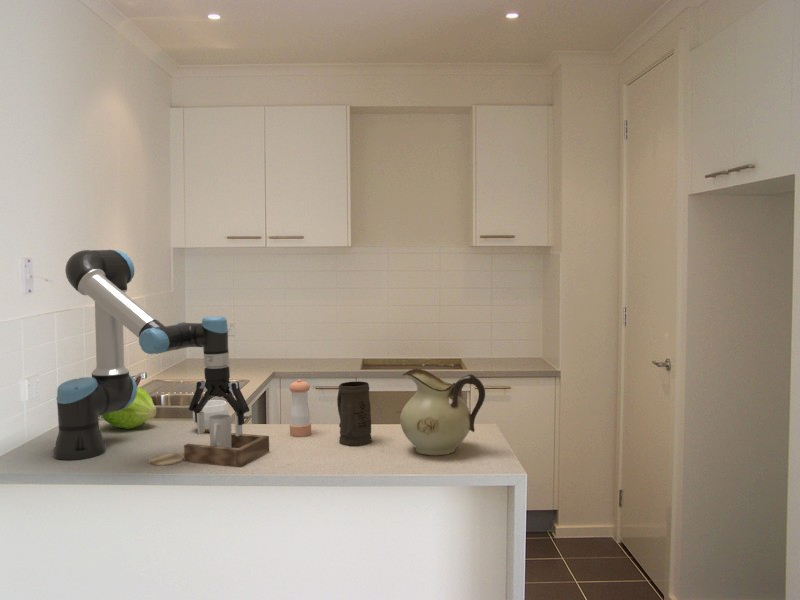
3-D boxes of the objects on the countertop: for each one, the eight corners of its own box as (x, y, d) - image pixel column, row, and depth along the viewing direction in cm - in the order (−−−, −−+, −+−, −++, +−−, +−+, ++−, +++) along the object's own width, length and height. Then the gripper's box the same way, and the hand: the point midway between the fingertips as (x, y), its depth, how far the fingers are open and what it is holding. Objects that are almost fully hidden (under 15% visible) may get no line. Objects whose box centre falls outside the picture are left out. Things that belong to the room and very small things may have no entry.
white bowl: (236, 427, 253) (235, 401, 252) (212, 435, 242) (211, 408, 241) (210, 424, 258) (209, 398, 258) (185, 432, 247) (184, 405, 247)
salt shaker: (297, 438, 237) (296, 382, 236) (286, 434, 242) (284, 379, 241) (315, 434, 242) (314, 379, 240) (303, 430, 247) (302, 376, 246)
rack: (184, 461, 212) (184, 445, 212) (215, 446, 228) (215, 431, 227) (241, 466, 206) (241, 450, 205) (269, 451, 222) (268, 435, 221)
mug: (213, 451, 223) (212, 414, 222) (234, 450, 223) (233, 413, 222) (204, 460, 213) (202, 421, 212) (226, 460, 213) (224, 421, 212)
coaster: (142, 463, 210) (142, 462, 210) (163, 454, 220) (163, 452, 220) (170, 466, 207) (170, 464, 207) (190, 457, 216) (190, 455, 216)
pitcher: (389, 445, 226) (388, 369, 224) (454, 437, 235) (453, 363, 233) (418, 464, 205) (417, 380, 204) (488, 454, 215) (487, 374, 213)
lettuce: (137, 440, 245) (135, 400, 242) (91, 430, 252) (89, 391, 249) (167, 424, 261) (166, 385, 257) (124, 415, 267) (122, 377, 264)
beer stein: (380, 441, 231) (376, 381, 231) (356, 448, 223) (352, 386, 223) (348, 436, 241) (344, 379, 241) (325, 443, 234) (321, 383, 233)
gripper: (175, 367, 216) (178, 434, 218) (245, 369, 208) (248, 439, 210) (189, 363, 223) (193, 429, 225) (258, 365, 215) (261, 433, 217)
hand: (219, 434), depth 217 cm, fingers open, 13 cm apart
